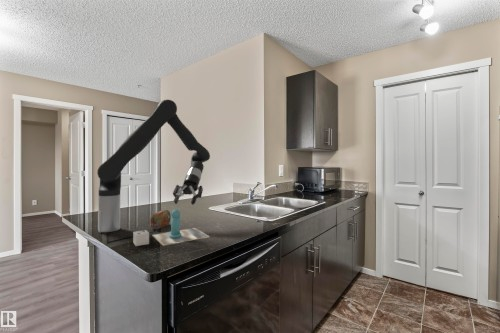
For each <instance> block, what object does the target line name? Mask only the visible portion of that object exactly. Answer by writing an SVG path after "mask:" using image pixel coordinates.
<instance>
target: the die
mask: <svg viewBox="0 0 500 333" xmlns="http://www.w3.org/2000/svg"><path fill="white" fill-rule="evenodd" d="M132 243H133V244H134V246H135V247H139V246H144V245H149V244H150V232H149V231H148V230H147V229H144V230H137V231H133V232H132Z"/></svg>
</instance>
